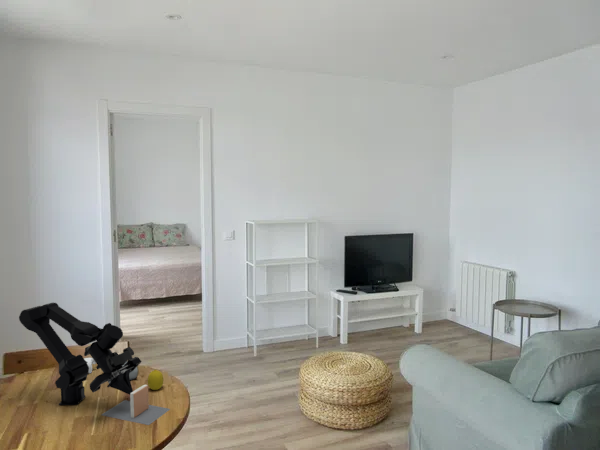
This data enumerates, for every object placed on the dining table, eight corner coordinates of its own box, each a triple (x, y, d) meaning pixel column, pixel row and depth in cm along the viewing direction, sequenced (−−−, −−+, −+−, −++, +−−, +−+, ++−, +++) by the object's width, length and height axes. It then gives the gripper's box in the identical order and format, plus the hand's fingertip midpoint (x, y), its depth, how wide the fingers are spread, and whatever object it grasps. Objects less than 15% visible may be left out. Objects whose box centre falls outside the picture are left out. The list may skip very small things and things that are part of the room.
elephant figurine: (97, 367, 187) (97, 353, 187) (96, 374, 180) (95, 360, 179) (79, 369, 185) (79, 355, 184) (77, 376, 177) (76, 362, 177)
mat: (100, 417, 145) (100, 414, 145) (124, 402, 155) (124, 400, 155) (148, 427, 139) (148, 425, 139) (170, 411, 149) (170, 408, 149)
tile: (130, 417, 143) (130, 393, 143) (145, 407, 150) (144, 384, 149) (134, 418, 143) (133, 394, 142) (149, 408, 149) (148, 385, 149)
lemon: (158, 394, 161) (158, 373, 160) (145, 393, 162) (144, 372, 162) (166, 388, 166) (165, 367, 166) (152, 387, 168) (152, 366, 167)
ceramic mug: (140, 380, 174) (139, 360, 173) (119, 386, 168) (118, 366, 168) (129, 372, 181) (128, 354, 181) (108, 378, 176) (107, 359, 175)
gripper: (95, 351, 139) (124, 391, 136) (136, 333, 156) (163, 368, 153) (76, 373, 142) (105, 412, 139) (119, 353, 160) (145, 387, 157)
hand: (131, 393), depth 147 cm, fingers closed
